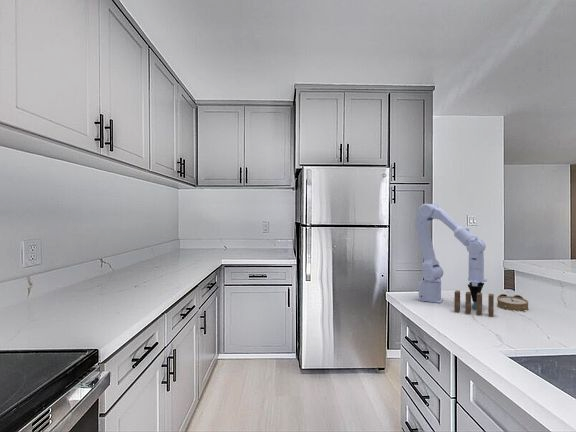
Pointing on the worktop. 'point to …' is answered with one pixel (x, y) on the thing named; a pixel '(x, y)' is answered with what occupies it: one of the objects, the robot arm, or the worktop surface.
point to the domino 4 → (491, 305)
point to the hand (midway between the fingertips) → (475, 300)
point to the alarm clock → (512, 302)
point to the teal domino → (475, 305)
